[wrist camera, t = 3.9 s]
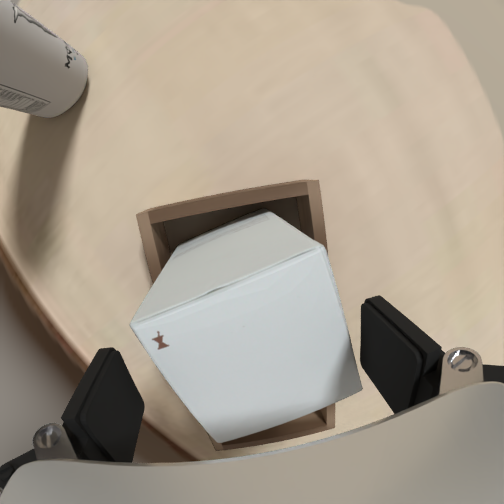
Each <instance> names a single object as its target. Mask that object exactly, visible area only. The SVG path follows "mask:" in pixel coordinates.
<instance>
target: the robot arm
mask: <svg viewBox="0 0 504 504" xmlns="http://www.w3.org/2000/svg"><path fill="white" fill-rule="evenodd" d="M441 348H442V347H441V346H440V345H438V344H437V343H436V342H435V341H434V340H433V339H432V338H430V337H429V336H428V335H427V334H426V333H425V332H423V331H422V330H421V329H420V328H419V327H417V326H416V325H415V324H414V323H413V322H412V321H410V320H409V319H408V318H407V317H406V316H404V315H403V314H402V313H401V312H400V311H398V310H397V309H396V308H395V307H394V306H392V305H391V304H390V303H389V302H387V301H386V300H385V299H384V298H383V297H381V296H375V297H372V298H368V299H366V300H365V302H364V304H362V305H361V348H360V362H361V366H362V368H363V369H364V371H365V372H366V374H367V375H368V376H369V378H370V379H371V381H372V382H373V383H374V385H375V386H376V388H377V389H378V391H379V392H380V394H381V395H382V396H383V398H384V399H385V401H386V402H387V404H388V405H389V406H390V408H391V409H392V411H393V412H394V415H391V416H389V417H386V418H384V419H381V420H378V421H376V422H373V423H370V424H368V425H365V426H362V427H359V428H356V429H353V430H350V431H347V432H344V433H341V434H338V435H335V436H331V437H328V438H324V439H321V440H317V441H313V442H310V443H306V444H302V445H298V446H293V447H289V448H285V449H280V450H275V451H270V452H265V453H259V454H253V455H247V456H241V457H233V458H226V459H217V460H206V461H194V462H177V463H132V460H133V456H134V451H135V447H136V442H137V438H138V433H139V429H140V425H141V421H142V417H143V413H144V408H145V406H144V401H143V399H142V397H141V395H140V393H139V391H138V390H137V388H136V386H135V384H134V382H133V379H132V377H131V375H130V373H129V371H128V369H127V367H126V365H125V363H124V360H123V358H122V356H121V354H120V352H119V351H116V350H115V349H114V348H113V347H112V348H101V349H99V350H98V352H97V353H96V355H95V357H94V358H93V360H92V362H91V364H90V365H89V367H88V369H87V371H86V372H85V374H84V376H83V378H82V379H81V381H80V383H79V385H78V387H77V388H76V390H75V392H74V394H73V396H72V398H71V399H70V401H69V403H68V405H67V407H66V409H65V411H64V413H63V415H62V417H61V419H62V420H63V421H64V423H63V425H62V426H61V425H60V424H57V423H49V424H46V425H44V426H42V427H41V428H40V429H38V430H37V431H36V433H35V435H34V437H33V447H34V449H32V450H30V451H29V452H27V453H25V454H23V455H21V456H19V457H17V458H15V459H13V460H11V461H9V462H7V463H5V464H4V465H2V466H1V467H0V504H504V366H496V365H483V364H482V359H481V356H480V355H479V354H478V353H477V352H476V351H474V350H472V349H470V348H465V347H457V348H453V349H451V350H449V351H447V352H446V353H445V352H443V351H442V350H441Z"/></svg>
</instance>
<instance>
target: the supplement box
mask: <svg viewBox="0 0 504 504" xmlns="http://www.w3.org/2000/svg"><path fill="white" fill-rule="evenodd" d="M130 327H131V329H132V330H133V332H134V333H135V335H136V336H137V338H138V339H139V341H140V342H141V344H142V345H143V347H144V348H145V350H146V351H147V353H148V354H149V356H150V357H151V359H152V360H153V362H154V363H155V365H156V366H157V368H158V369H159V371H160V372H161V373H162V375H163V376H164V378H165V379H166V380H167V382H168V383H169V384H170V386H171V387H172V389H173V390H174V391H175V393H176V394H177V395H178V396H179V398H180V399H181V400H182V402H183V403H184V404H185V406H186V407H187V408H188V409H189V411H190V412H191V413H192V414H193V416H194V417H195V418H196V419H197V420H198V422H199V423H200V424H201V425H202V427H203V428H204V429H205V430H206V431H207V432H208V433H209V435H210V436H211V437H212V438H213V439H214V440H215V441H216V442H217V443H223V442H226V441H230V440H234V439H237V438H240V437H244V436H247V435H250V434H253V433H257V432H260V431H263V430H266V429H269V428H272V427H275V426H278V425H281V424H283V423H286V422H289V421H292V420H294V419H297V418H300V417H302V416H305V415H307V414H310V413H312V412H315V411H317V410H320V409H322V408H324V407H327V406H329V405H331V404H333V403H336V402H338V401H340V400H342V399H345V398H347V397H349V396H351V395H353V394H355V393H357V392H359V391H361V390H362V389H363V388H362V385H361V381H360V377H359V373H358V369H357V365H356V361H355V356H354V352H353V348H352V344H351V339H350V335H349V331H348V327H347V323H346V319H345V316H344V312H343V308H342V304H341V300H340V297H339V293H338V289H337V286H336V282H335V279H334V275H333V272H332V269H331V265H330V262H329V258H328V255H327V251H326V249H325V247H324V246H323V245H322V244H320V243H318V242H317V241H315V240H313V239H311V238H310V237H308V236H307V235H305V234H304V233H302V232H301V231H299V230H298V229H296V228H295V227H293V226H292V225H290V224H289V223H287V222H286V221H284V220H283V219H281V218H280V217H278V216H277V215H275V214H274V213H272V212H270V211H269V210H267V209H266V208H263V209H260V210H257V211H255V212H252V213H250V214H247V215H245V216H242V217H240V218H237V219H235V220H233V221H230V222H228V223H226V224H223V225H221V226H219V227H217V228H214V229H212V230H210V231H208V232H205V233H203V234H201V235H199V236H196V237H194V238H192V239H190V240H188V241H185V242H183V243H181V244H179V245H178V246H177V248H176V250H175V251H174V252H173V254H172V256H171V257H170V259H169V260H168V262H167V263H166V265H165V267H164V268H163V270H162V271H161V273H160V274H159V276H158V278H157V279H156V281H155V282H154V284H153V286H152V287H151V289H150V290H149V292H148V294H147V295H146V297H145V299H144V300H143V302H142V303H141V305H140V307H139V309H138V310H137V312H136V314H135V315H134V317H133V319H132V320H131V322H130Z"/></svg>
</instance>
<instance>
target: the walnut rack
mask: <svg viewBox="0 0 504 504" xmlns="http://www.w3.org/2000/svg"><path fill="white" fill-rule="evenodd" d="M295 196H296V198H297V205H298V212H299V219H300V226H301V232H302V233H304V234H305V235H307V236H308V237H310V238H311V239H313V240H315V241H317V242H318V243H320V244H322V245H323V246H324V247H325V249H326V251H327V255H328V250H327V240H326V232H325V223H324V215H323V207H322V200H321V192H320V185H319V180H299V181H292V182H286V183H279V184H273V185H267V186H261V187H255V188H249V189H243V190H238V191H232V192H227V193H222V194H216V195H211V196H206V197H201V198H196V199H191V200H187V201H182V202H177V203H173V204H168V205H164V206H159V207H155V208H151V209H148V210H145V211H143V212H141V213H138V214H136V217H137V221H138V226H139V230H140V234H141V239H142V243H143V247H144V251H145V255H146V259H147V262H148V266H149V270H150V274H151V277H152V281H153V284H154V282H155V281H156V279H157V278H158V276H159V274H160V273H161V271H162V270H163V268H164V267H165V265H166V263H167V262H168V260H169V259H170V257H171V254H170V250H169V246H168V241H167V237H166V233H165V228H164V223H163V221H167V220H172V219H176V218H181V217H186V216H191V215H196V214H201V213H206V212H211V211H216V210H221V209H226V208H232V207H237V206H243V205H248V204H254V203H259V202H265V201H271V200H277V199H283V198H289V197H295ZM332 428H335V403H333V404H331V405H329V406H327V407H324V408H322V409H320V410H317V411H315V412H312V413H310V414H307V415H305V416H302V417H300V418H297V419H294V420H292V421H289V422H286V423H283V424H281V425H278V426H275V427H272V428H269V429H266V430H263V431H260V432H257V433H253V434H250V435H247V436H244V437H240V438H237V439H234V440H230V441H226V442H223V443H217V442H216V441H215V440H214V439H213V438H212V437H211V436H210V435H209V433H208V432H207V433H208V435H209V437H210V439H211V441H212V444H213V446H214V448H215V450H216V451H219V450H228V449H236V448H244V447H250V446H257V445H263V444H268V443H274V442H279V441H284V440H289V439H293V438H298V437H302V436H306V435H310V434H314V433H318V432H322V431H325V430H329V429H332Z"/></svg>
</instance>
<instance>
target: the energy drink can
mask: <svg viewBox="0 0 504 504" xmlns="http://www.w3.org/2000/svg"><path fill="white" fill-rule="evenodd" d="M87 77H88V64H87V62H86V59H85V58H84V57H83V55H81V54H80V53H79V52H78V51H76V50H75V49H74V48H73V47H71V46H70V45H69V44H67V43H66V42H65V41H64V40H62V39H61V38H60V37H58V36H57V35H56V34H55V33H53V32H52V31H51V30H49V29H48V28H47V27H45V26H44V25H43V24H41V23H40V22H39V21H37V20H36V19H35V18H33V17H32V16H31V15H29V14H28V13H27V12H25V11H24V10H23V9H21V8H20V7H18V6H17V5H16V4H14V3H13V2H11V1H10V0H0V106H1V107H5V108H9V109H13V110H17V111H21V112H25V113H29V114H33V115H36V116H40V117H44V118H52V117H55V116H58V115H60V114H62V113H64V112H65V111H66V110H68V109H69V108H70V107H71V106H73V105H74V104H75V103H76V102H77V100H78V99H79V98H80V96H81V95H82V93H83V91H84V89H85V86H86V82H87Z"/></svg>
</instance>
